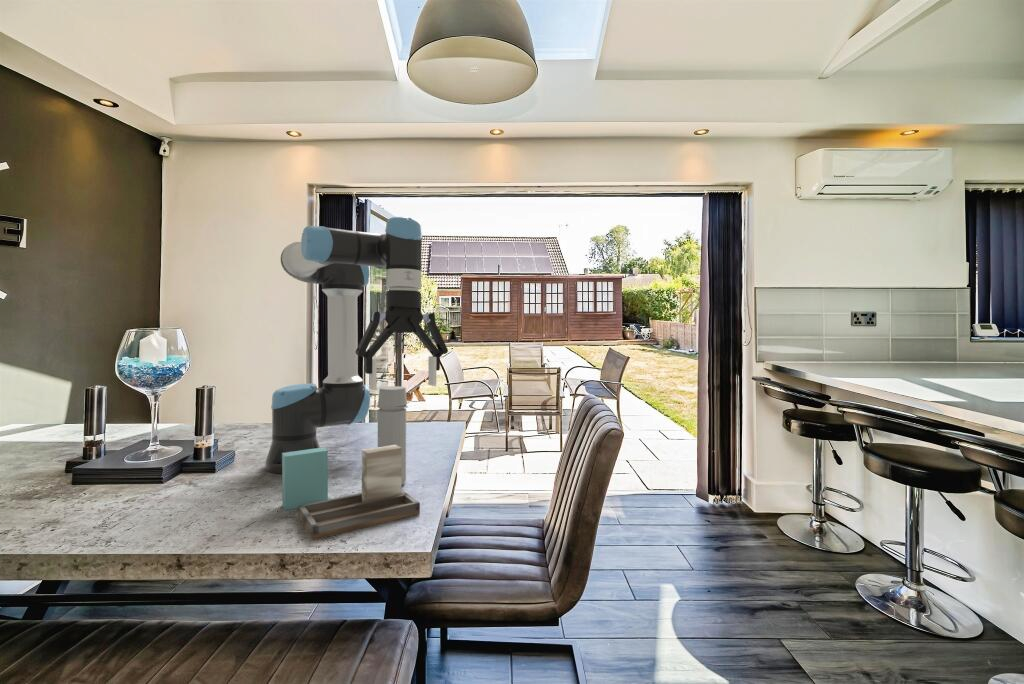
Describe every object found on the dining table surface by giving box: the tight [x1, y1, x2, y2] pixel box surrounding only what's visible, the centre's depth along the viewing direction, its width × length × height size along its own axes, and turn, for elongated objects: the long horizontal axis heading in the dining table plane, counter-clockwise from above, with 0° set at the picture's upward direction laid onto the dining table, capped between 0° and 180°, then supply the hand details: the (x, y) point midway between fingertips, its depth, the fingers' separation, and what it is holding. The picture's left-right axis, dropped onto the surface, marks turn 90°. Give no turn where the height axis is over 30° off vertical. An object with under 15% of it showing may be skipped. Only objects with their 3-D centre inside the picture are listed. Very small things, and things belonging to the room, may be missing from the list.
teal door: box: [281, 447, 329, 511], centre depth 108 cm, size 4×9×12 cm, turn 126°
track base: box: [297, 445, 421, 541], centre depth 101 cm, size 13×22×13 cm, turn 126°
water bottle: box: [376, 385, 409, 486], centre depth 122 cm, size 9×8×25 cm
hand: (403, 387), depth 103 cm, fingers open, 13 cm apart
